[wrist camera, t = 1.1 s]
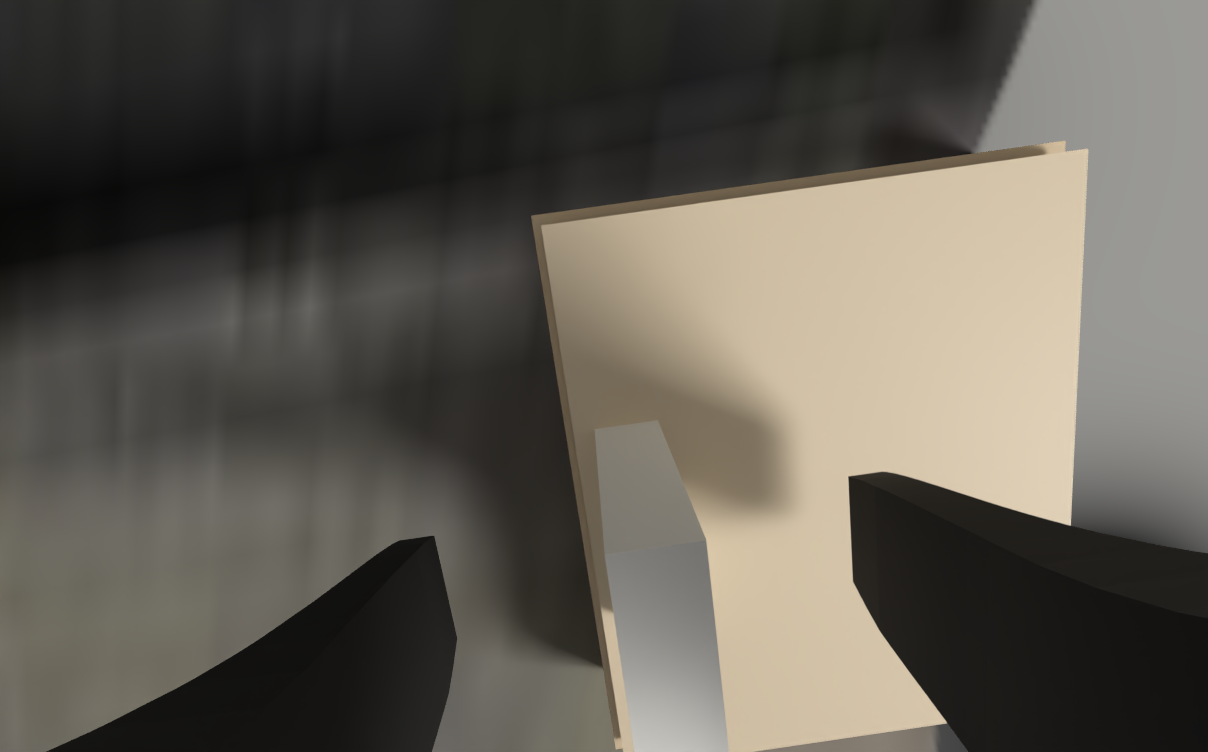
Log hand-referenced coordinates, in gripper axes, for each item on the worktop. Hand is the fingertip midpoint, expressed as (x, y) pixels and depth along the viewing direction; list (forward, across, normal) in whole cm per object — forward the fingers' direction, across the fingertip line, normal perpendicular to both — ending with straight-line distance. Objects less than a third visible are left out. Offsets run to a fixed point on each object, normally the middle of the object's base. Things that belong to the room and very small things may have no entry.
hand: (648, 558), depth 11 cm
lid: (+2, -4, 0) cm, 4 cm away
